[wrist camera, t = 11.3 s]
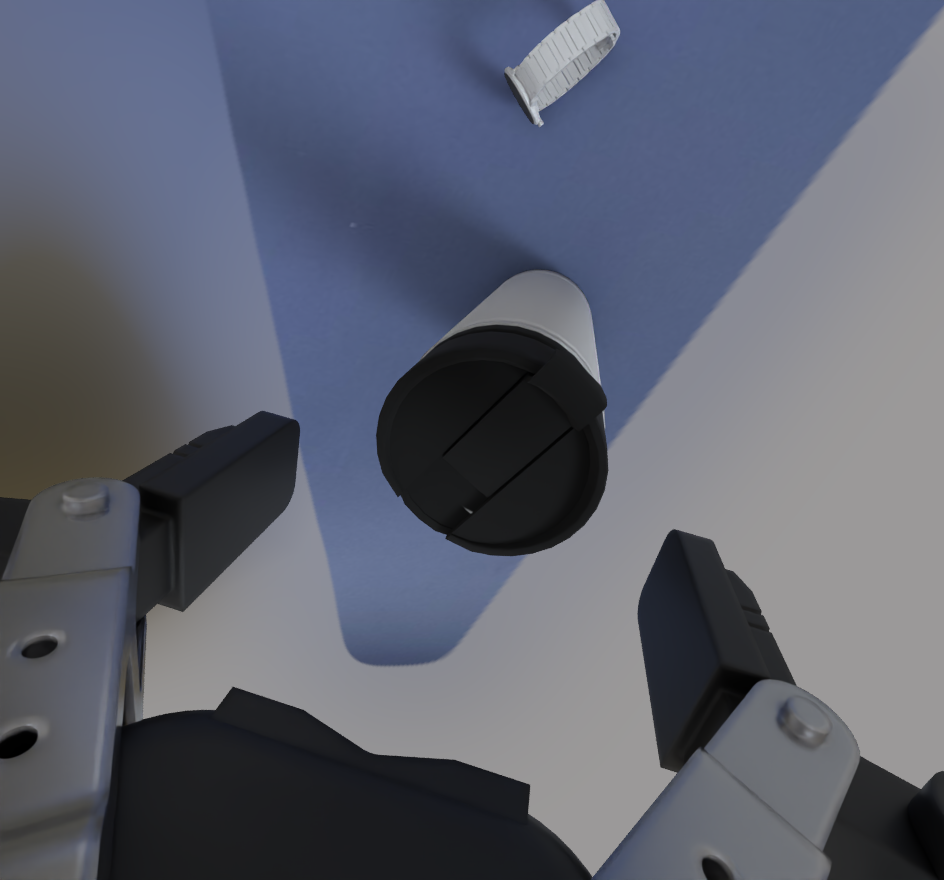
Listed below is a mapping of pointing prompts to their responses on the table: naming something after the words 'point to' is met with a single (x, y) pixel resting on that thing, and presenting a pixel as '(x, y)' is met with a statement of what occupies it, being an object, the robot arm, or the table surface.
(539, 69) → the wristwatch
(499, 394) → the travel mug
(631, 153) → the table surface
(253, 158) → the table surface
